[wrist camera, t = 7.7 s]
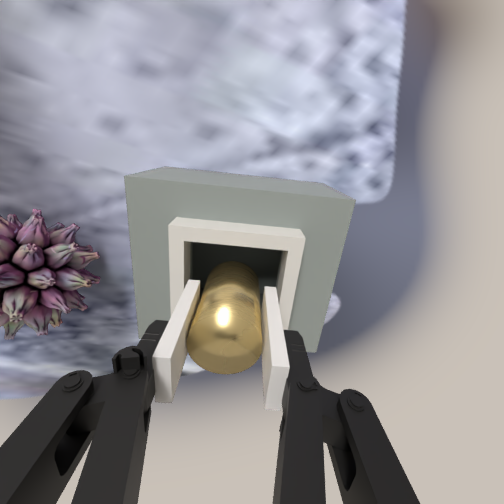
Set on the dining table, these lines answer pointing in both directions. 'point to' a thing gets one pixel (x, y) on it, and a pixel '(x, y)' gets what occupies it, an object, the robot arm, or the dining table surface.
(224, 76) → the dining table surface
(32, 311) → the flower
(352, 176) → the dining table surface
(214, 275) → the brass slug
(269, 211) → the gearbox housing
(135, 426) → the robot arm
